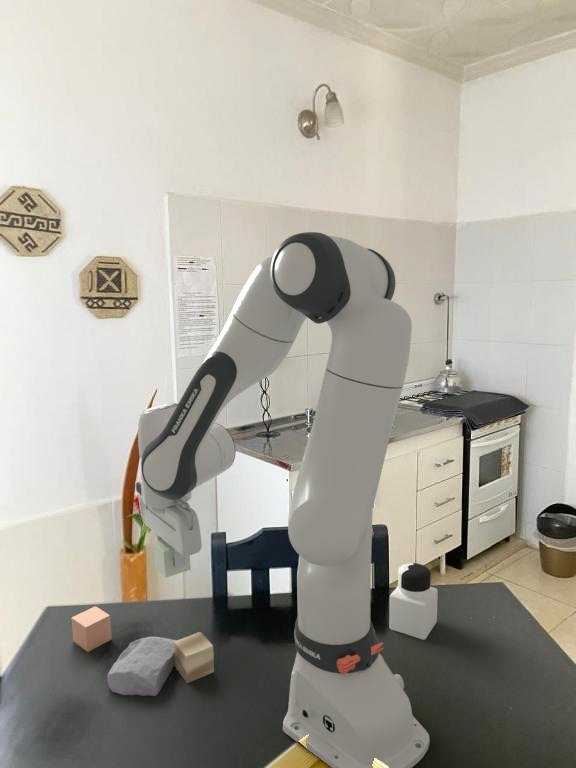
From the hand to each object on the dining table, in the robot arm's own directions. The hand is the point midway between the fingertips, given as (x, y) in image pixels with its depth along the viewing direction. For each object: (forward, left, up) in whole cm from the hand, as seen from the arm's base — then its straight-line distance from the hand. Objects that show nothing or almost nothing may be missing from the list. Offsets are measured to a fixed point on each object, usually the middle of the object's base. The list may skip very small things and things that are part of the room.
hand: (172, 560), depth 109 cm
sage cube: (0, 0, -2) cm, 2 cm away
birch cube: (-13, +2, -15) cm, 19 cm away
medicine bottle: (-26, -38, -15) cm, 48 cm away
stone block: (-8, +10, -15) cm, 19 cm away
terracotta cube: (+6, +14, -15) cm, 21 cm away
